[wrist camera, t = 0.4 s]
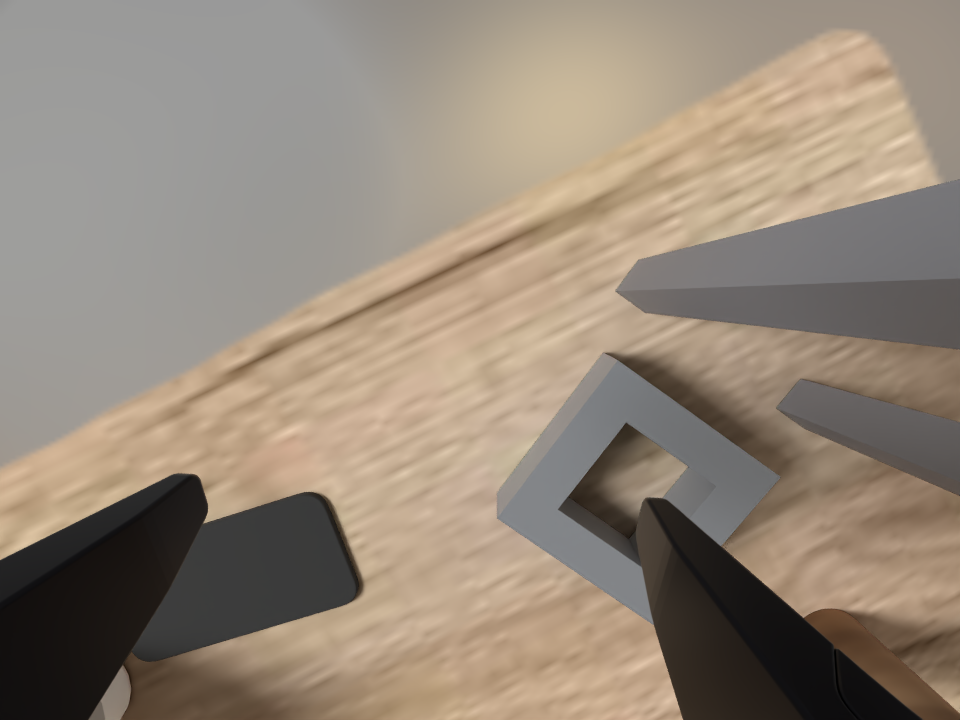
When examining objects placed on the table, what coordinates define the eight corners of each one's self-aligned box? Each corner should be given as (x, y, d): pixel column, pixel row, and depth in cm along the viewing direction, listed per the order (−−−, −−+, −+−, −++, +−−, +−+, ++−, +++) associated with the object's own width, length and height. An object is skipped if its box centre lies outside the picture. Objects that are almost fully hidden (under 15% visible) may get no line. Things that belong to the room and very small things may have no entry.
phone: (363, 601, 27) (138, 667, 28) (367, 592, 28) (148, 657, 29) (317, 488, 26) (87, 562, 27) (323, 482, 27) (99, 554, 28)
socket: (635, 587, 26) (653, 624, 24) (496, 492, 26) (497, 518, 23) (747, 455, 25) (780, 477, 22) (603, 352, 25) (618, 360, 22)
